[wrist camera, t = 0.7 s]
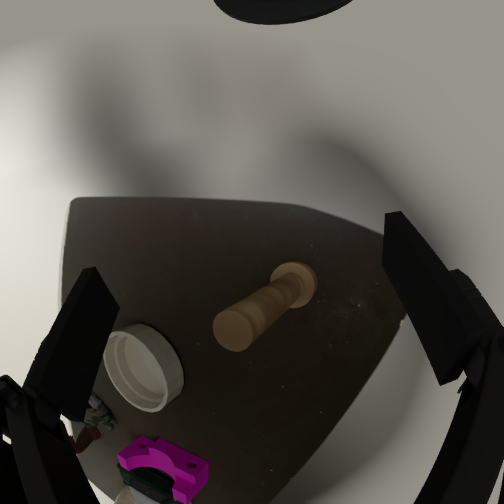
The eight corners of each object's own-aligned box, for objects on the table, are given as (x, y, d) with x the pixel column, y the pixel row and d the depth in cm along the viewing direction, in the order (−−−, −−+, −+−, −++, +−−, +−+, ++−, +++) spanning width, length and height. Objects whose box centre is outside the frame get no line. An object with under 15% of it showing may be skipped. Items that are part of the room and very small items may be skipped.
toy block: (208, 461, 41) (185, 487, 34) (208, 480, 42) (186, 505, 35) (141, 426, 47) (115, 445, 40) (144, 446, 48) (120, 465, 41)
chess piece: (89, 419, 55) (60, 437, 46) (103, 434, 54) (74, 453, 45) (87, 427, 57) (60, 444, 48) (101, 442, 55) (73, 460, 46)
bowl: (113, 324, 45) (93, 332, 41) (170, 319, 40) (149, 330, 35) (137, 394, 45) (120, 405, 41) (196, 402, 40) (179, 417, 36)
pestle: (270, 265, 33) (191, 299, 19) (312, 256, 31) (257, 289, 17) (279, 306, 33) (210, 366, 19) (321, 300, 31) (275, 364, 17)
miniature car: (126, 451, 51) (103, 468, 44) (193, 487, 44) (171, 511, 37) (133, 473, 52) (112, 490, 45) (196, 507, 45) (177, 529, 38)
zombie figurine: (55, 377, 46) (101, 434, 43) (78, 367, 53) (124, 419, 49) (53, 390, 48) (97, 444, 44) (75, 380, 54) (118, 429, 51)
